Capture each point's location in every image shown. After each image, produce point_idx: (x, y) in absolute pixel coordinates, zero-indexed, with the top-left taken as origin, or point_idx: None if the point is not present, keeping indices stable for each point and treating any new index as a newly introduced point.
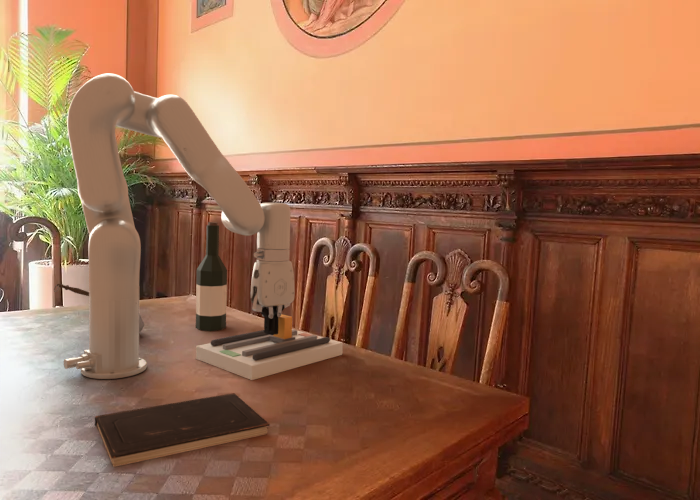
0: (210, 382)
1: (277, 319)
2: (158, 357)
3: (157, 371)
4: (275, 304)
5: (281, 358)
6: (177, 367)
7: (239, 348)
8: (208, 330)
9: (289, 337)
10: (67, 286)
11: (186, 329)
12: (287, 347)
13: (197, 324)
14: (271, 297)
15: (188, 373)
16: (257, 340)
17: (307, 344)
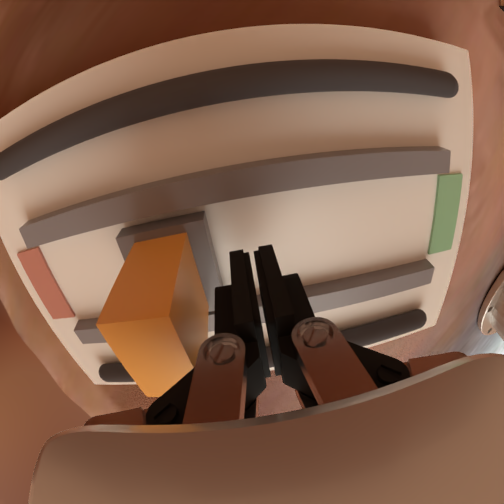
0: (496, 123)
1: (244, 312)
2: (443, 333)
3: (498, 255)
4: (372, 403)
5: (343, 25)
6: (473, 261)
7: (388, 254)
8: None
9: (148, 241)
10: None
11: None
12: (273, 68)
13: None
14: (480, 459)
15: (488, 211)
16: None
17: (114, 96)
